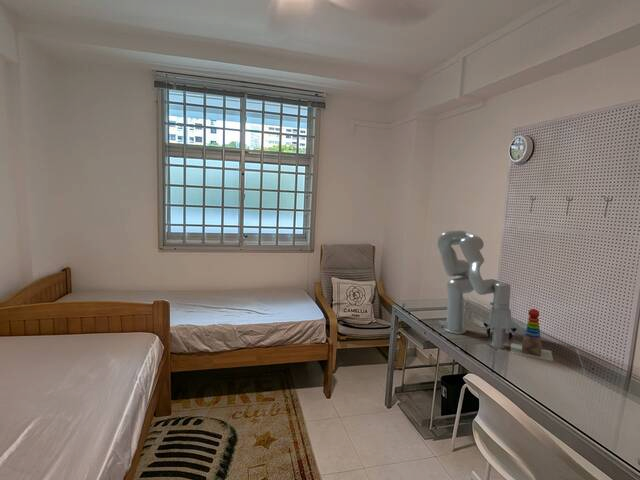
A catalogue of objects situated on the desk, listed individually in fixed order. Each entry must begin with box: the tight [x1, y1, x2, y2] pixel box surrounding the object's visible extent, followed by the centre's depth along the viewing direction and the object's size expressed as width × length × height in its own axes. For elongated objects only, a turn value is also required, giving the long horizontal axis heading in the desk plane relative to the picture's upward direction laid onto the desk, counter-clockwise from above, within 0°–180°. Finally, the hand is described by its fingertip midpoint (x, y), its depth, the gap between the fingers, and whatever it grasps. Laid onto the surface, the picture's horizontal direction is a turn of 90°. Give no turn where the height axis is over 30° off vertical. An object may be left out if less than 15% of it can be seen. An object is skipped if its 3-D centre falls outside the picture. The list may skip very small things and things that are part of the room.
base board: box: [510, 342, 554, 362], centre depth 174 cm, size 18×13×1 cm
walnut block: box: [521, 335, 543, 357], centre depth 173 cm, size 8×8×6 cm
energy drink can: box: [491, 325, 507, 349], centre depth 179 cm, size 6×6×15 cm
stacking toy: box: [524, 308, 542, 340], centre depth 187 cm, size 8×8×19 cm
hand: (499, 337), depth 179 cm, fingers open, 9 cm apart
